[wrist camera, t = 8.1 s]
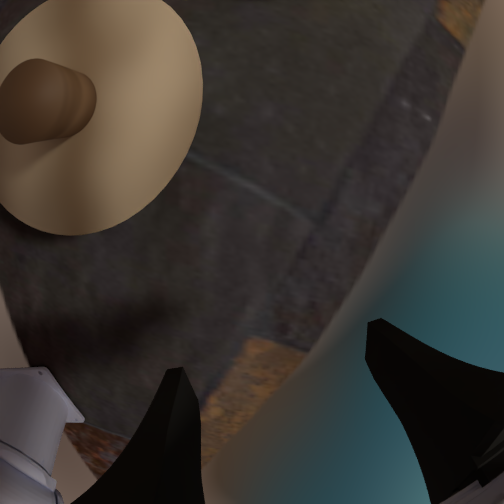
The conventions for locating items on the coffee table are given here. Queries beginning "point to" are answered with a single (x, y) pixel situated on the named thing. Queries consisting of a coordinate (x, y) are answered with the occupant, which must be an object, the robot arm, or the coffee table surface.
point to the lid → (94, 111)
